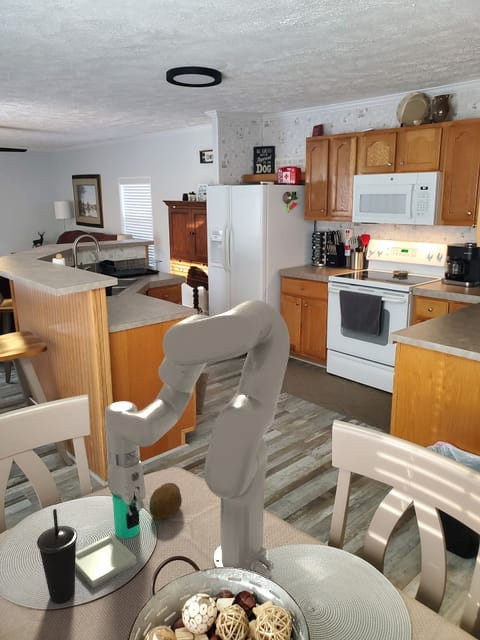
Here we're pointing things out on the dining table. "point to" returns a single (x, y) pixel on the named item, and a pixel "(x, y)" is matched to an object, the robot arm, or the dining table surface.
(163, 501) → the potato
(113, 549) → the tray
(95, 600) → the dining table surface
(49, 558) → the drinking cup
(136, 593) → the dining table surface
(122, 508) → the candle
